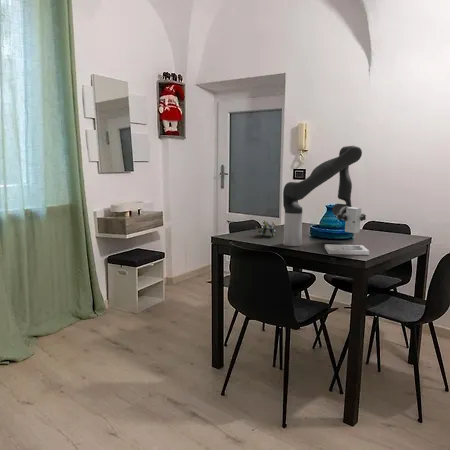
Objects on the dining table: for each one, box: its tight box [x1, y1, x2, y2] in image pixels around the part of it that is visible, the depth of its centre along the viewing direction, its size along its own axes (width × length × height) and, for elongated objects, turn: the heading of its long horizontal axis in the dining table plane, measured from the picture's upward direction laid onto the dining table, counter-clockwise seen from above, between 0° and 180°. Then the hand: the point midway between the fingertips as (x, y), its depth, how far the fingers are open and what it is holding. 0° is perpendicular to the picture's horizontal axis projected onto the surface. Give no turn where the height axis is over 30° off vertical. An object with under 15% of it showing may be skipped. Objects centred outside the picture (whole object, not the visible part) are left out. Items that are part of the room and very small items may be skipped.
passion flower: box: [255, 219, 277, 238], centre depth 250 cm, size 11×11×12 cm
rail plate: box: [324, 244, 370, 256], centre depth 209 cm, size 19×14×2 cm
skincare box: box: [344, 206, 362, 234], centre depth 207 cm, size 6×4×12 cm
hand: (354, 218), depth 205 cm, fingers closed on skincare box, 7 cm apart
